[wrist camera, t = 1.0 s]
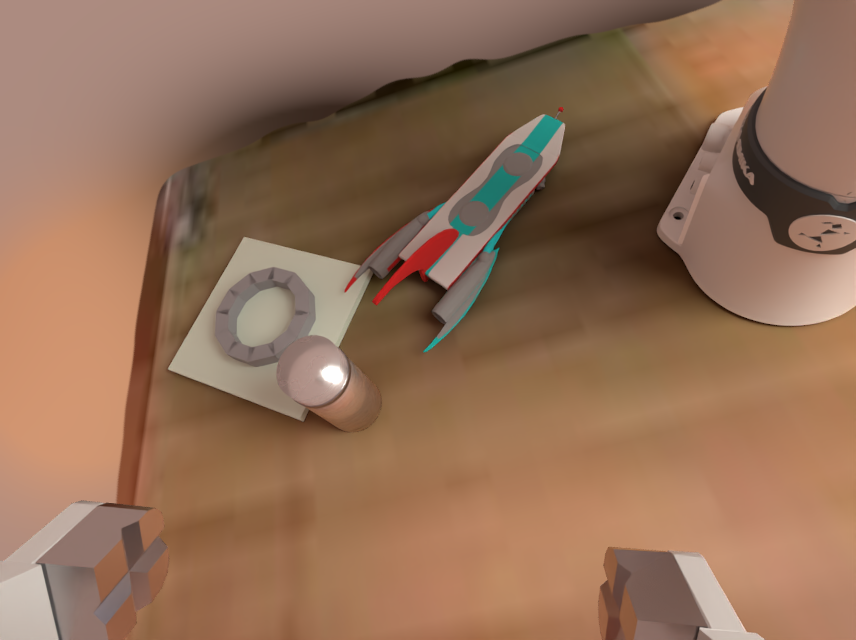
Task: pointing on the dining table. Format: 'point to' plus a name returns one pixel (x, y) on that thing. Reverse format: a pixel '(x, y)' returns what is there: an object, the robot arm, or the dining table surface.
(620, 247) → the dining table surface
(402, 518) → the dining table surface
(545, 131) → the toy spaceship
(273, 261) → the ring plate
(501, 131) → the dining table surface
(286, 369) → the piston
